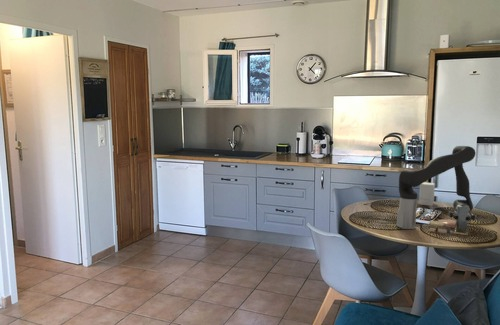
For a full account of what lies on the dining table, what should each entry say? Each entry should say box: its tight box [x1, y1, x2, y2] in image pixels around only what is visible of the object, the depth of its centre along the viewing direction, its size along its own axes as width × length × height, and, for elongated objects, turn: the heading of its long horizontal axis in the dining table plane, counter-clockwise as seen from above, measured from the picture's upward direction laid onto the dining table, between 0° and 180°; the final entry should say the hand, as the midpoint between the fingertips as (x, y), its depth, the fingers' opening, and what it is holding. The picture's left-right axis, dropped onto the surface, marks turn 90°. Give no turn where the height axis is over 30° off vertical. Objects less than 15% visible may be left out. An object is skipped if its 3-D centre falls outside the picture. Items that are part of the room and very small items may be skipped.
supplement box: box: [418, 181, 436, 207], centre depth 290 cm, size 9×9×15 cm
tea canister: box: [454, 205, 469, 233], centre depth 220 cm, size 6×6×14 cm
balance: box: [428, 220, 469, 238], centre depth 224 cm, size 19×7×5 cm, turn 62°
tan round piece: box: [438, 218, 456, 229], centre depth 240 cm, size 14×14×1 cm
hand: (462, 218), depth 218 cm, fingers closed on tea canister, 5 cm apart
